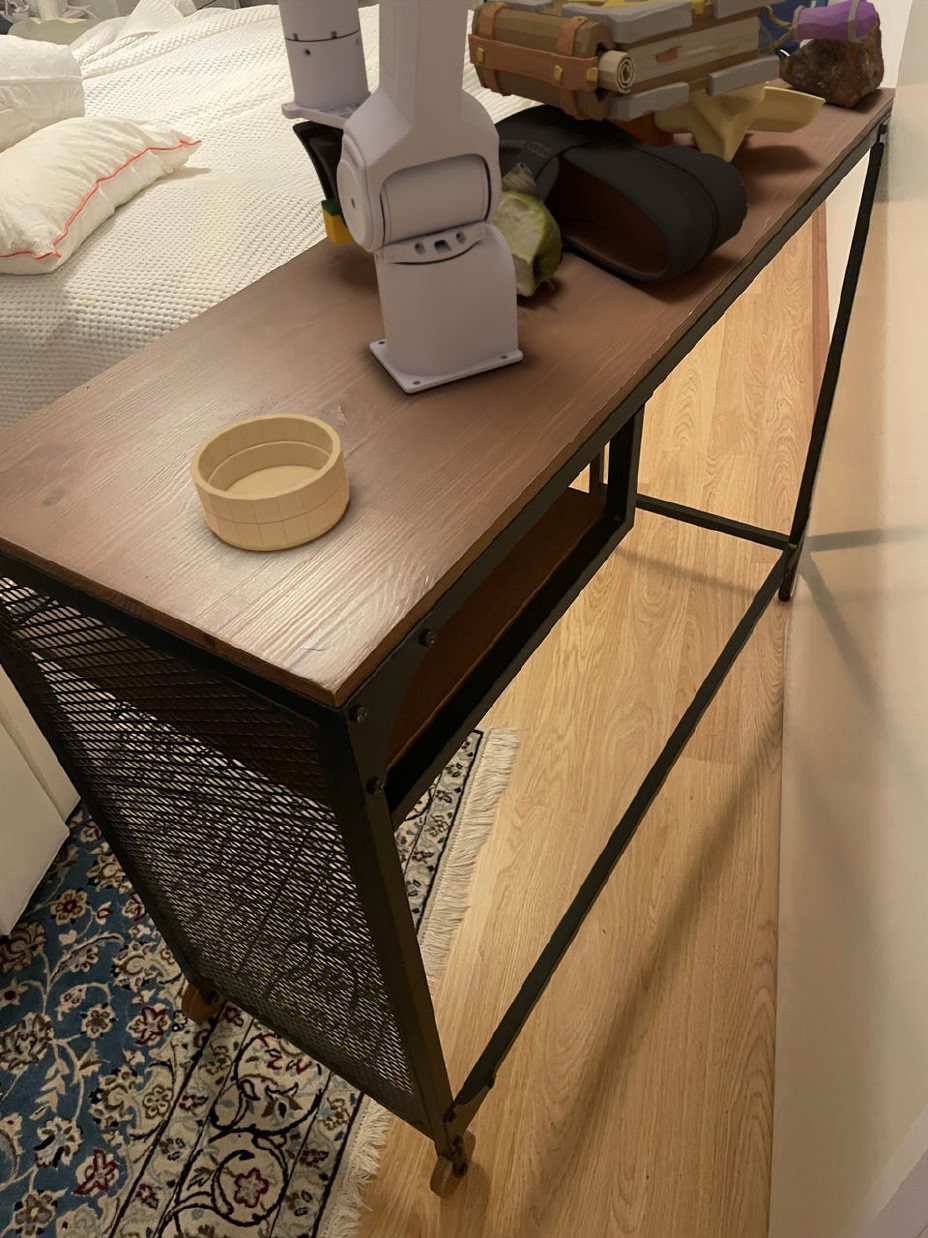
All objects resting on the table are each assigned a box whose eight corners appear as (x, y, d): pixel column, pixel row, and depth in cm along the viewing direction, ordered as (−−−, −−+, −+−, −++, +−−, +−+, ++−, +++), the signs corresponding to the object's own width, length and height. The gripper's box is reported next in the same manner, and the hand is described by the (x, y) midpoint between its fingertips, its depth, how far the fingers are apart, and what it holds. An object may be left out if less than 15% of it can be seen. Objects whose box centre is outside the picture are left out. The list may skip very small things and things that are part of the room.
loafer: (496, 81, 87) (402, 126, 82) (762, 151, 73) (670, 212, 68) (501, 186, 95) (415, 235, 89) (744, 269, 81) (659, 332, 75)
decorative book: (632, 155, 71) (633, -11, 64) (458, 95, 89) (443, -39, 82) (876, 75, 79) (901, -82, 71) (670, 34, 97) (674, -94, 89)
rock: (774, 109, 115) (842, 52, 114) (842, 163, 110) (915, 103, 108) (763, 16, 103) (839, -49, 102) (839, 72, 98) (921, 3, 96)
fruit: (599, 215, 76) (570, 286, 73) (532, 272, 84) (504, 338, 81) (511, 138, 73) (477, 208, 69) (450, 205, 80) (417, 271, 77)
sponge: (370, 224, 82) (365, 189, 80) (380, 234, 80) (376, 199, 78) (326, 235, 81) (320, 200, 79) (336, 245, 79) (330, 210, 77)
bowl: (324, 451, 64) (313, 398, 61) (371, 523, 57) (361, 469, 55) (193, 491, 61) (175, 438, 58) (227, 571, 55) (210, 517, 52)
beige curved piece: (724, 61, 80) (711, 141, 82) (867, 103, 90) (852, 174, 92) (571, 95, 99) (563, 160, 100) (703, 127, 108) (694, 186, 110)
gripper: (244, 23, 74) (280, 201, 83) (300, 61, 64) (333, 259, 73) (329, 8, 76) (355, 184, 85) (396, 43, 66) (417, 237, 75)
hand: (350, 217), depth 79 cm, fingers closed on sponge, 2 cm apart
